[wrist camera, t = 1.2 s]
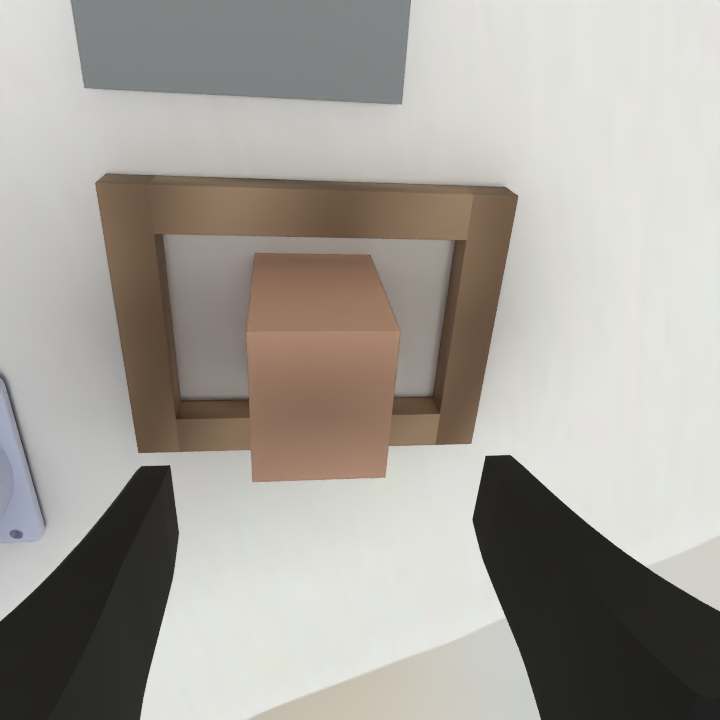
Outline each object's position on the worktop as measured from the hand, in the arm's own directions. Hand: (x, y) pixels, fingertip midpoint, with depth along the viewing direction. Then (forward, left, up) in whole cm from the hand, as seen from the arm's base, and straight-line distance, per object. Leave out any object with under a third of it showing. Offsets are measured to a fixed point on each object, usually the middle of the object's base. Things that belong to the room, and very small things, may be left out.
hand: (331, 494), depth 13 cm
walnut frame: (0, 0, -9) cm, 9 cm away
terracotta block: (0, 0, -9) cm, 9 cm away
